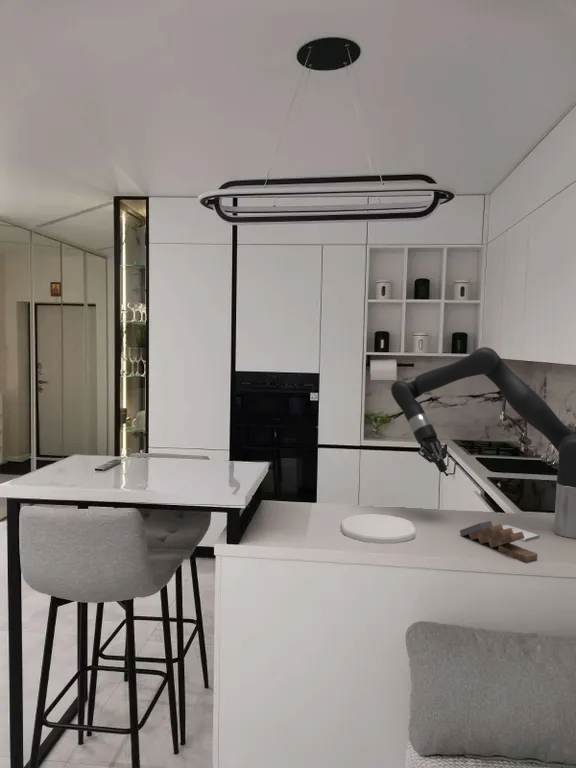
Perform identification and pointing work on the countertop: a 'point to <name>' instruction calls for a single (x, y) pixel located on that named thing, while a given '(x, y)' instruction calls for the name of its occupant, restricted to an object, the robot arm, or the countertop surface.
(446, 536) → the countertop surface
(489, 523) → the domino
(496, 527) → the domino
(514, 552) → the domino
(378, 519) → the decorative plate
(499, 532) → the domino
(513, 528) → the external hard drive
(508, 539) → the domino
